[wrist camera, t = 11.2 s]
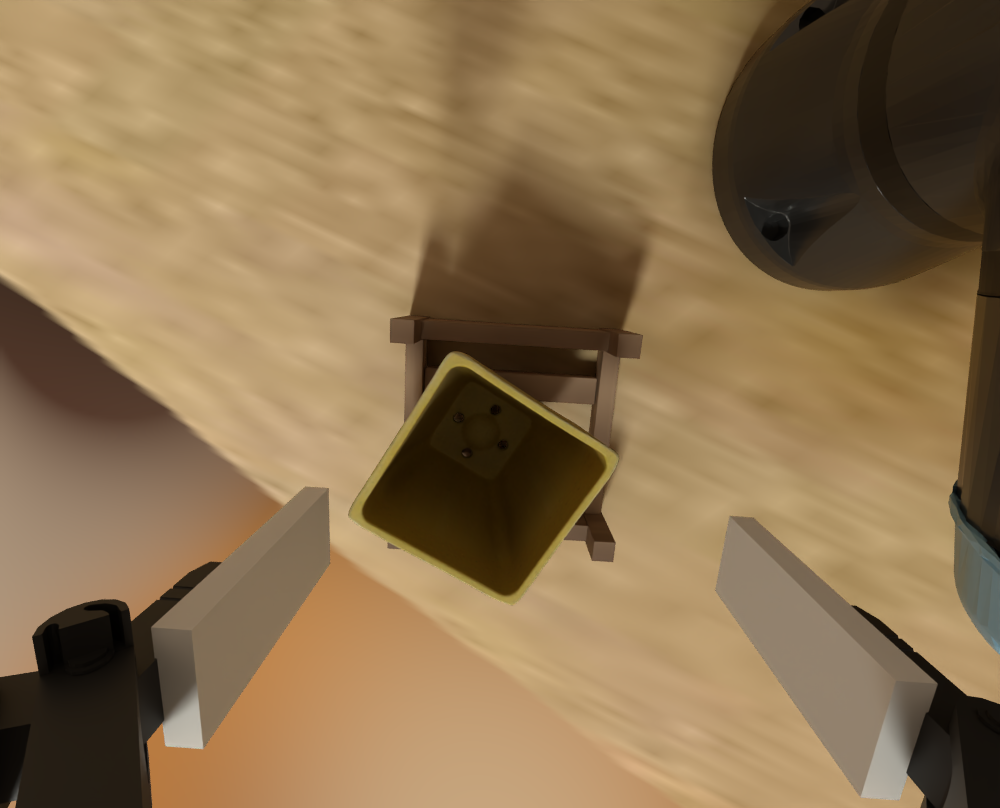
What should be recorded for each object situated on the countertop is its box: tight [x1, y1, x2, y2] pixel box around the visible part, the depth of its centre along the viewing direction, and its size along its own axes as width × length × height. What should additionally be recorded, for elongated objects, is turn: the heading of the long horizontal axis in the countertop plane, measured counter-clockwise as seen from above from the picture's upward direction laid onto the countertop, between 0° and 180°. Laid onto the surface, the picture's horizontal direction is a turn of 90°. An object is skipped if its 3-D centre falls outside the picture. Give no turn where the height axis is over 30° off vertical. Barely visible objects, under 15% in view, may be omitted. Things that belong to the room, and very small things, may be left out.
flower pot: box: [348, 351, 619, 605], centre depth 24 cm, size 9×9×9 cm
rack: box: [388, 316, 643, 562], centre depth 27 cm, size 13×13×5 cm
